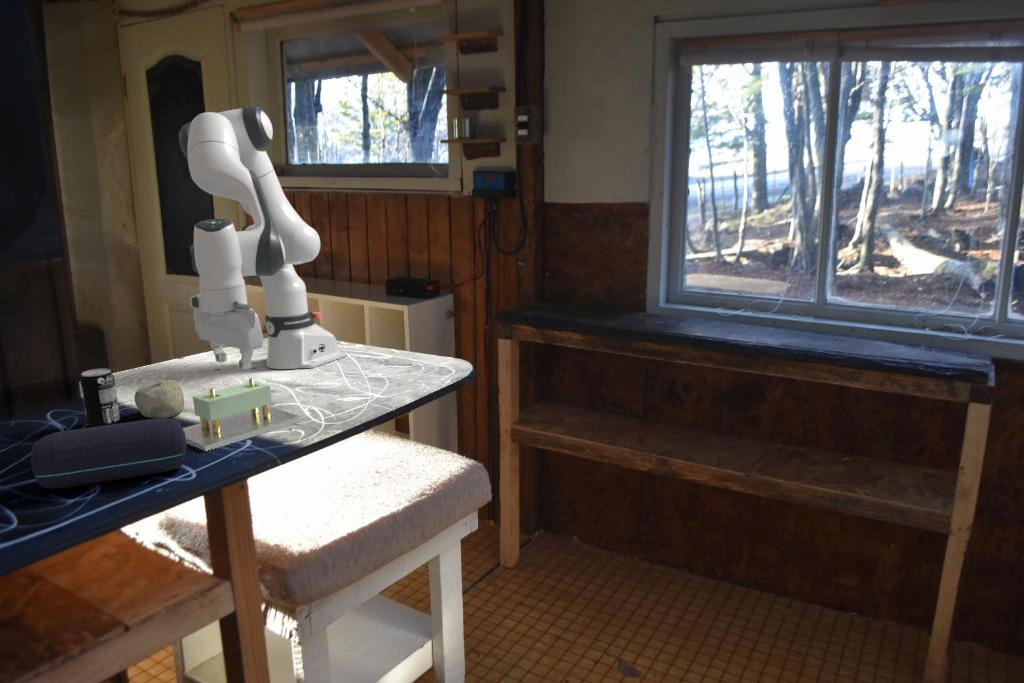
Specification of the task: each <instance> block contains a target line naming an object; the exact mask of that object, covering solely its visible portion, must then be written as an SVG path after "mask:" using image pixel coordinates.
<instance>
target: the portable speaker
mask: <svg viewBox="0 0 1024 683" xmlns="http://www.w3.org/2000/svg"><path fill="white" fill-rule="evenodd" d="M183 428H184V427H182V424H181V423H180V421H179V420H176V419H172V418H150V419H149V418H148V419H144V420H143V419H142V420H136V421H128V422H122V423H117V424H113V425H106V426H99V427H85V428H79V429H78V428H77V429H71V430H64V431H57V432H53V433H50V434H47V435H45V436H43V437H42V438H40V439H38V440H36V441H35V442H34V443H33V444H32V447H31V453H30V456H31V459H30V465H31V469H32V473H33V475H34V477H35V480H36V482H37V483H38V484H39V485H40V486H41V487H42V488H45V489H51V490H52V489H53V490H54V489H55V490H57V489H68V488H73V487H79V486H87V485H93V484H98V483H105V482H110V481H117V480H123V479H129V478H135V477H142V476H147V475H149V476H150V475H155V474H161V473H167V472H170V470H171V471H173V470H176V469H179V468H180V467H182V466H183V463H184V460H185V456H186V455H187V448H188V446H187V445H188V444H187V443H186V436H185V432H184V431H183Z"/></svg>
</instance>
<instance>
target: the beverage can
mask: <svg viewBox="0 0 1024 683" xmlns="http://www.w3.org/2000/svg"><path fill="white" fill-rule="evenodd" d="M80 376H81V378H80V380H79V381H80V387H81V393H82V394H81V395H82V401H83V408H84V412H85V420H86V423H87V426H89V428H92V427H99V426H106V425H113V424H119V421H120V420H121V412H120V407H119V402H118V401H119V399H118V395H117V388H116V387H117V386H116V382H115V376H114V375H113V373H112V371H111V369H110V368H93V369H90V370H85V371H83V372H82V373H81V375H80Z"/></svg>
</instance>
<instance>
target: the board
mask: <svg viewBox="0 0 1024 683" xmlns="http://www.w3.org/2000/svg"><path fill="white" fill-rule="evenodd" d="M254 386H255V387H252V388H250V385H249V381H248V382H243V383H239V384H236V385H232V386H227V387H223V388H221V389H216V390H215V398H210V391H209V392H205V393H202V394H197V395H194V396H192V401H193V409H194V415H195V416H197V417H199V418H200V417H202V418H204V419H207V420H209V421H213V420H217V419H220V418H224V417H227V416H230V415H234V414H237V413H241V412H244V411H248V410H251V409H254V408H258V407H261V406H265V405H268V404H269V405H271V404H273V402H272V392H271V390H272V389H271V386H270V384H266V383H262V382H259V381H255V380H254Z"/></svg>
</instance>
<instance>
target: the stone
mask: <svg viewBox="0 0 1024 683" xmlns="http://www.w3.org/2000/svg"><path fill="white" fill-rule="evenodd" d="M134 403H135V405H136V407H137V409H138V411H139V412H140V414H141V415H142V416H143V417H145V418H148V419H149V418H150V419H156V418H167V419H170V418H173V417H175V416H177V415H179V414H181V413H182V412H183V411H184V407H185V398H184V391H183V388H182V386H181V384H180V383H179V382H178V381H176V380H173V379H163V380H162V379H161V380H160V379H159V380H156V381H155V380H154V381H153V382H151V383H148V384H146V385H143V386H141V387H139V388H138V389H137V390H136V392H135V393H134Z"/></svg>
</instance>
